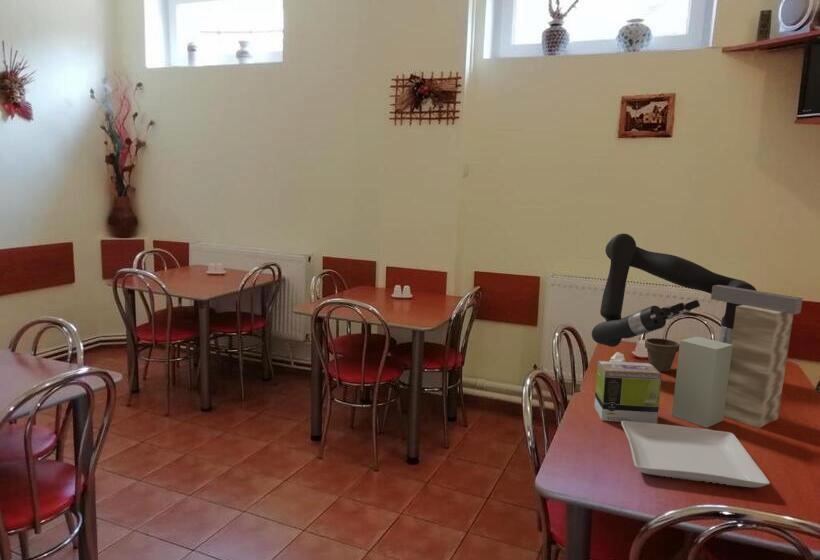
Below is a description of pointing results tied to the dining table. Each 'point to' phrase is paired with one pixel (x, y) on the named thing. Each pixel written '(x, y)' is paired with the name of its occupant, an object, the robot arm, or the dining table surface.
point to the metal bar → (757, 299)
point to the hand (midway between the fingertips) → (691, 304)
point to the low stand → (702, 380)
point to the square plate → (692, 454)
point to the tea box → (627, 391)
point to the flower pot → (661, 352)
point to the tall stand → (757, 365)
